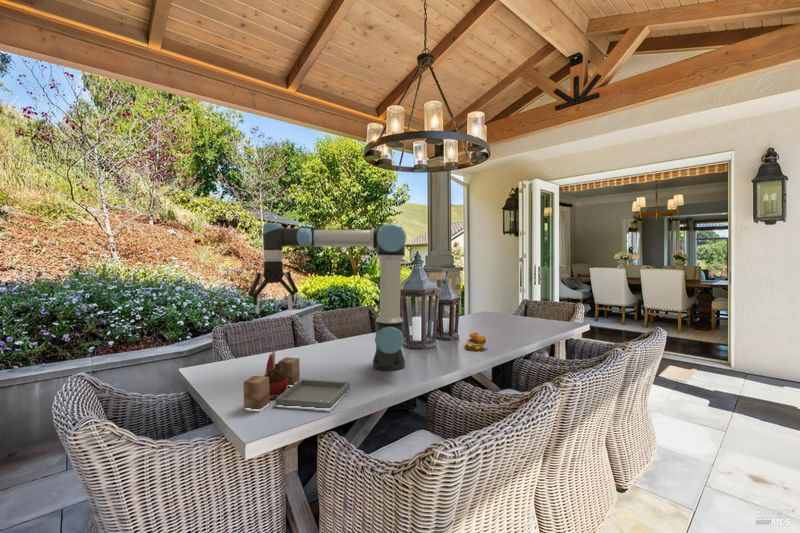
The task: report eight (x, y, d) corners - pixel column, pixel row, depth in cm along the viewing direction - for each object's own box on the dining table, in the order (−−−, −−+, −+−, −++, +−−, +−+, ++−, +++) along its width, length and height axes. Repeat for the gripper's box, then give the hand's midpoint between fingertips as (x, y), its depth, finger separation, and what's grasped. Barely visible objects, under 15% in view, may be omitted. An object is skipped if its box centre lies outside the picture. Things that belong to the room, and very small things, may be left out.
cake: (282, 401, 137) (281, 351, 136) (256, 400, 137) (255, 351, 136) (291, 389, 147) (290, 343, 146) (267, 389, 148) (266, 343, 147)
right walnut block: (299, 382, 156) (299, 358, 155) (292, 387, 150) (292, 362, 149) (286, 381, 157) (285, 357, 156) (278, 386, 151) (278, 361, 151)
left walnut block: (269, 405, 133) (269, 376, 133) (260, 412, 127) (259, 382, 127) (254, 403, 134) (253, 375, 134) (244, 410, 128) (243, 381, 128)
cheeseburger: (463, 346, 211) (467, 328, 210) (482, 351, 210) (486, 333, 209) (463, 350, 201) (468, 332, 200) (483, 356, 199) (488, 337, 199)
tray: (349, 389, 147) (349, 382, 147) (330, 411, 127) (330, 403, 127) (301, 386, 151) (301, 379, 151) (275, 407, 131) (275, 398, 131)
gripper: (298, 259, 169) (299, 307, 170) (239, 261, 154) (240, 313, 155) (305, 260, 163) (306, 309, 164) (244, 261, 148) (245, 315, 149)
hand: (274, 311), depth 159 cm, fingers open, 13 cm apart
